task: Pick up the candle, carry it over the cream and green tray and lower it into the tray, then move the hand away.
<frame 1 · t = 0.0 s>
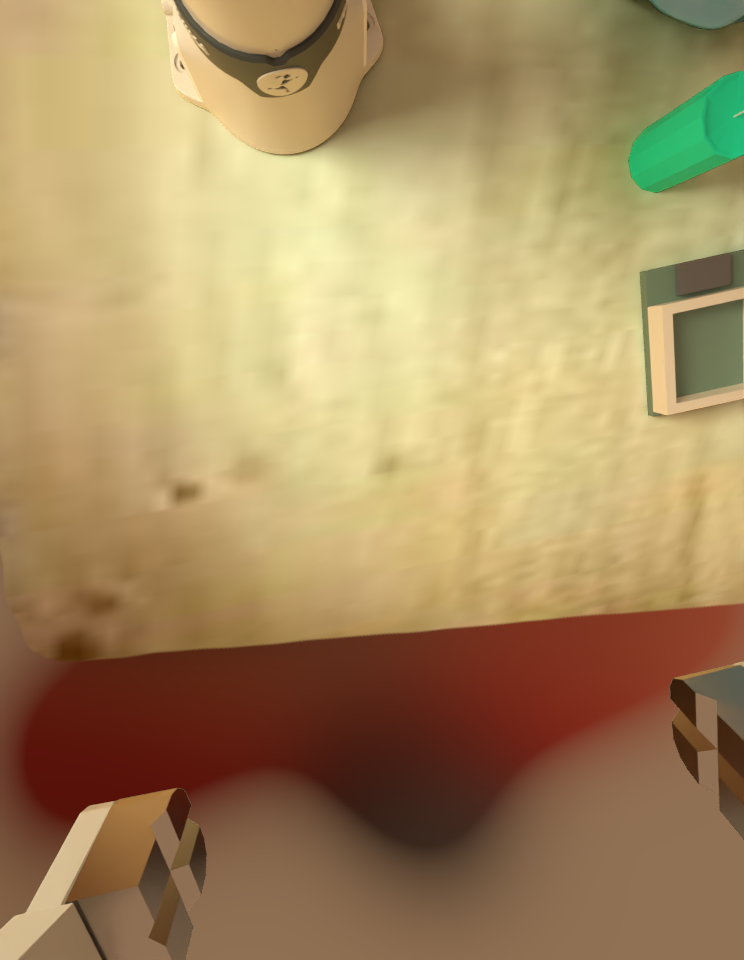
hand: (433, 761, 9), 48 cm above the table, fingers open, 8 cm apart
candle: (657, 159, 50), on the table
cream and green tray: (695, 349, 55), on the table
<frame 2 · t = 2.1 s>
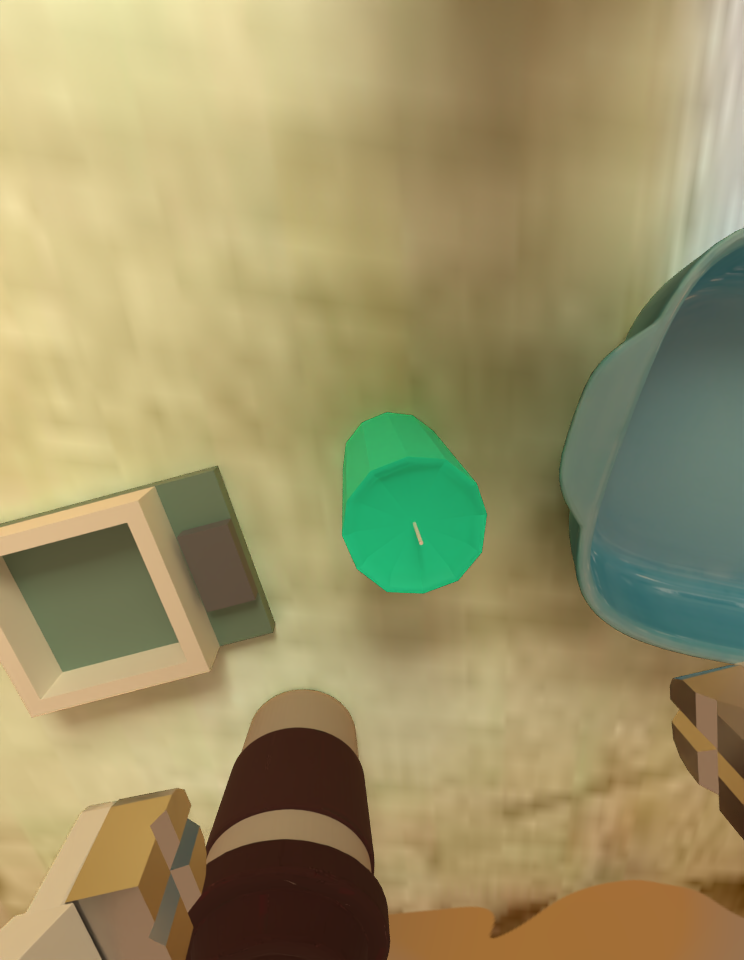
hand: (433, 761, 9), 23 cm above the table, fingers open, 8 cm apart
candle: (392, 460, 31), on the table
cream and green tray: (108, 585, 32), on the table
coffee cup: (303, 727, 36), on the table
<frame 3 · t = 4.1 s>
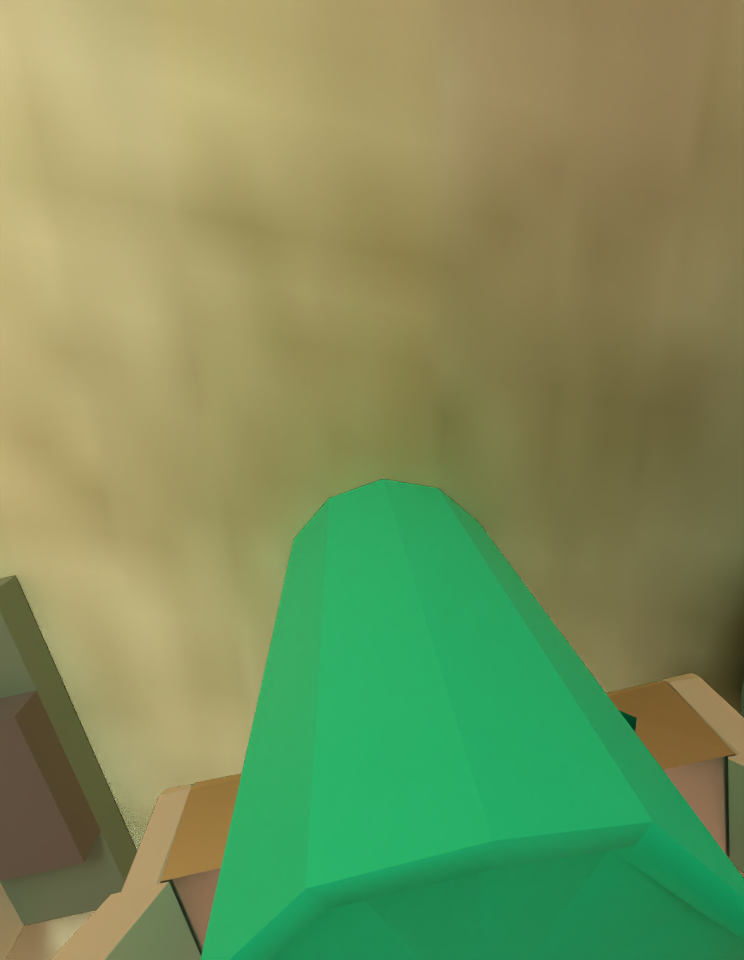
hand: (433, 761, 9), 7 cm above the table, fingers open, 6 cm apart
candle: (389, 575, 15), on the table, touching gripper
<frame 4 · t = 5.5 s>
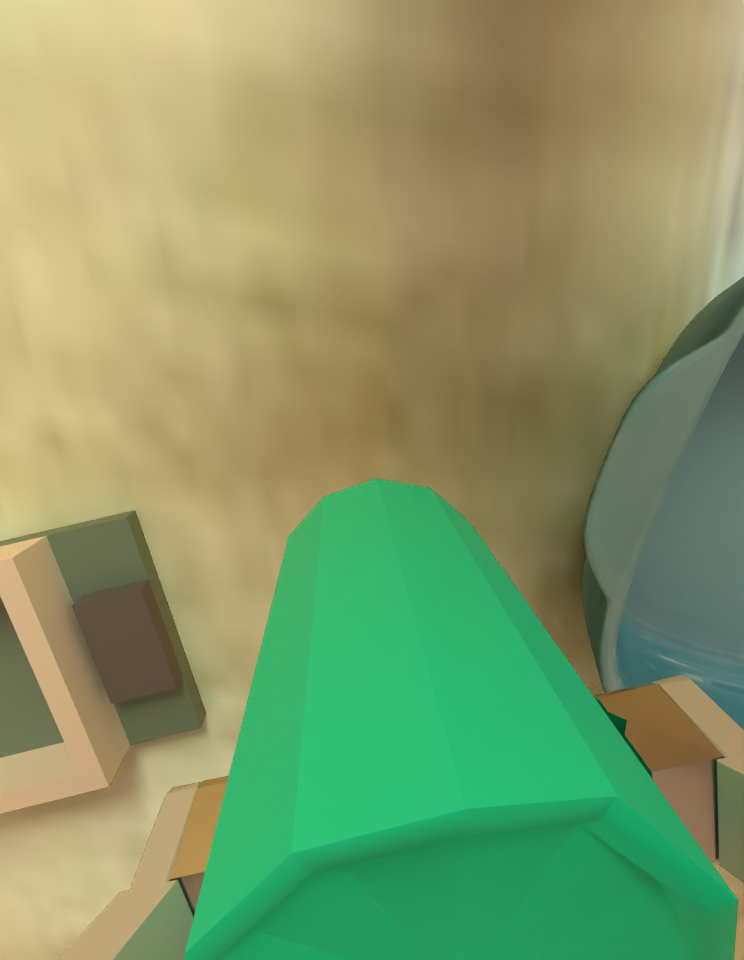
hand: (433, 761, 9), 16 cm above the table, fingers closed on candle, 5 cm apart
candle: (382, 573, 15), point 9 cm above the table, touching gripper
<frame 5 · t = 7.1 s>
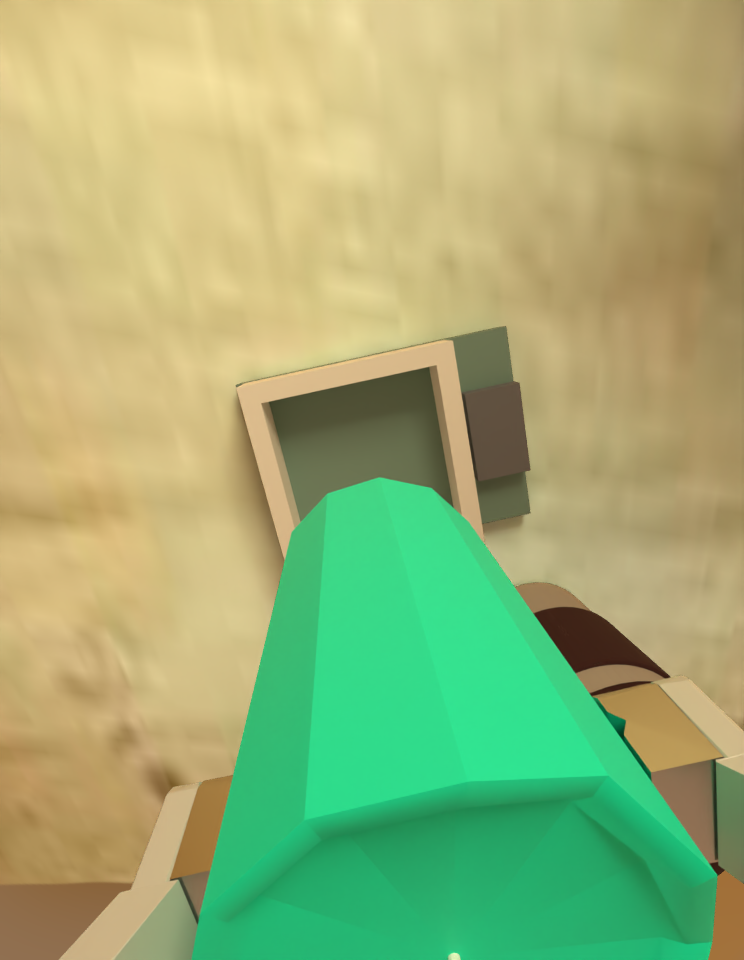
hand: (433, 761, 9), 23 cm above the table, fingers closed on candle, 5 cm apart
candle: (381, 570, 16), point 15 cm above the table, touching gripper
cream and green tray: (364, 454, 31), on the table
coffee cup: (529, 627, 35), on the table
when the fingers open (9 cm above the table, at t = 9.5 s): candle stays where it is, resting on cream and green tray.
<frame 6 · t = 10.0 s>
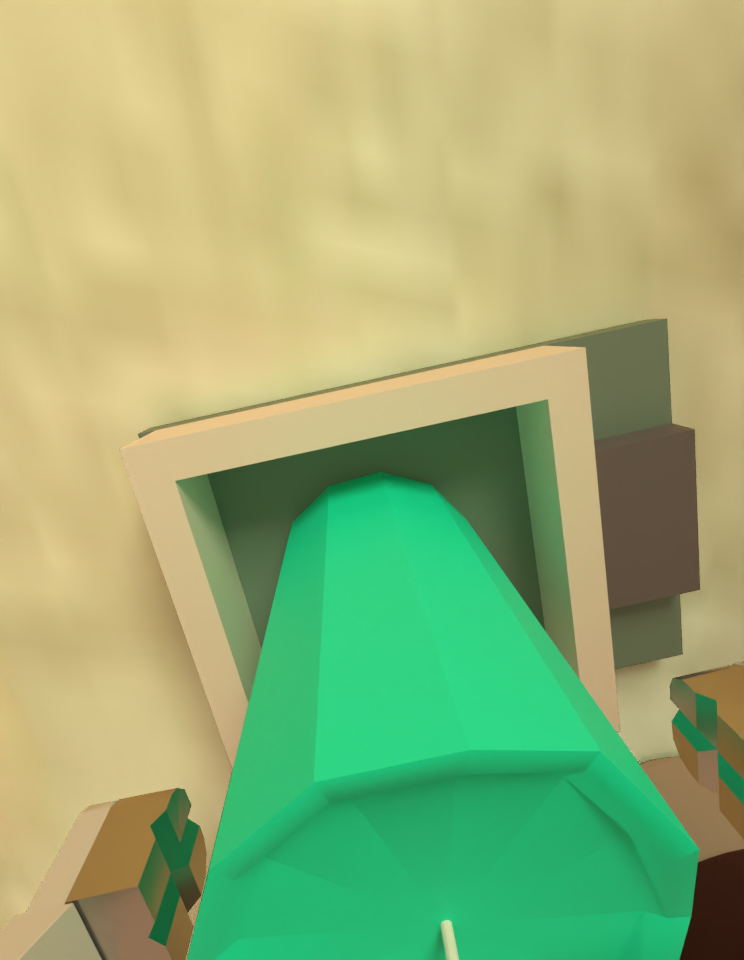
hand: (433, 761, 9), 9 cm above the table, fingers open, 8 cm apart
candle: (379, 564, 16), point 1 cm above the table, touching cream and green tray
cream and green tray: (386, 552, 17), on the table
coffee cup: (654, 819, 21), on the table
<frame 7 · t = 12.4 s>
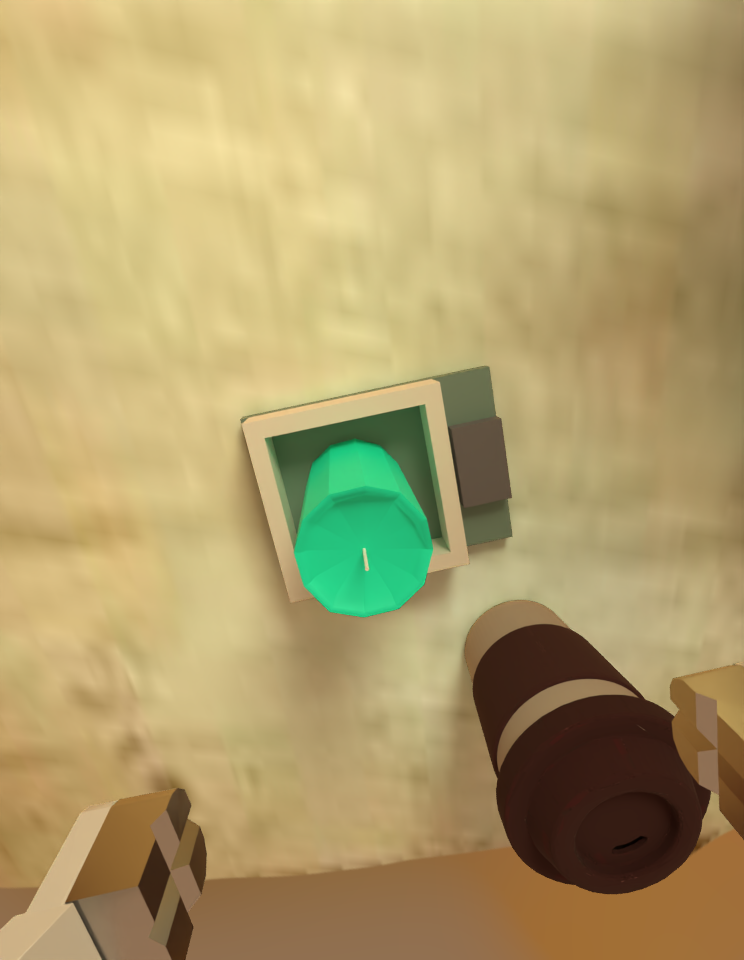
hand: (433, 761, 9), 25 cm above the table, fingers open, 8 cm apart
candle: (354, 485, 32), point 1 cm above the table, touching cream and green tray
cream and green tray: (358, 481, 33), on the table
coffee cup: (512, 641, 37), on the table
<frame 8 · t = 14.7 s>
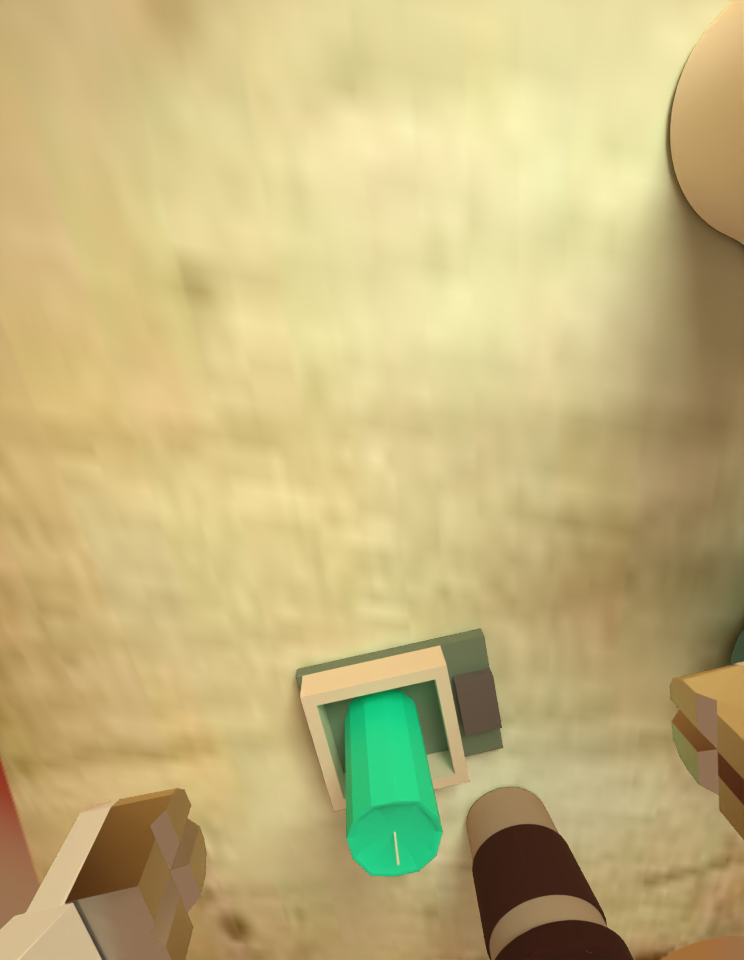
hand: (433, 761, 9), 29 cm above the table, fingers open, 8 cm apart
candle: (381, 716, 42), point 1 cm above the table, touching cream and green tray
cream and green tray: (384, 709, 43), on the table
coffee cup: (504, 814, 47), on the table
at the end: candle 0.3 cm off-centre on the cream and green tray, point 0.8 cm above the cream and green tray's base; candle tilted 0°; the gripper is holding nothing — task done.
